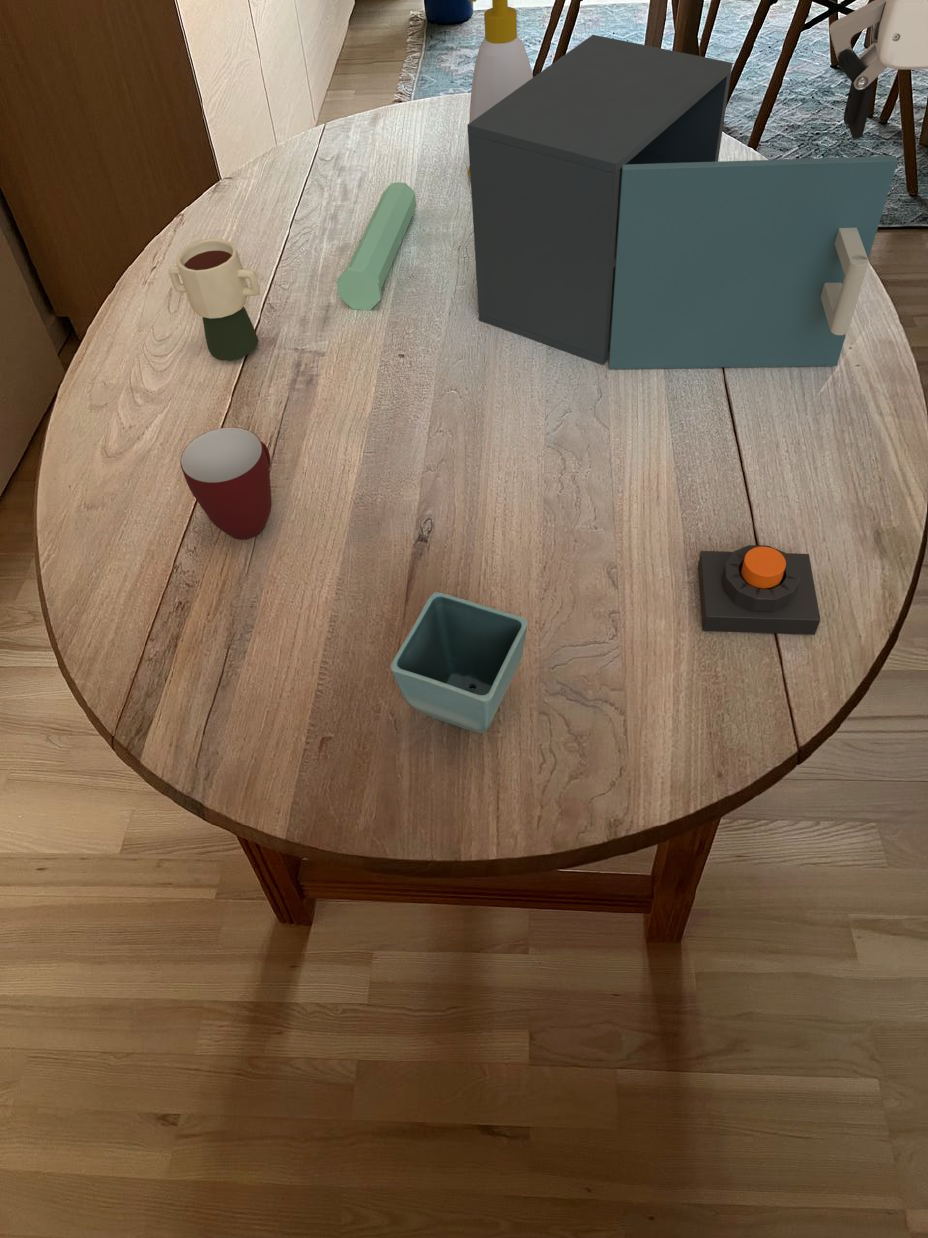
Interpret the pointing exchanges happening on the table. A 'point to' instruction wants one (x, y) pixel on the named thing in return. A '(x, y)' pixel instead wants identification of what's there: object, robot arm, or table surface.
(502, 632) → the flower pot
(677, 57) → the cupboard
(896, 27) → the robot arm
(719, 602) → the button block
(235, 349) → the character mug
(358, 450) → the table surface
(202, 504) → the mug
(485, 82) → the soap bottle
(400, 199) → the green octagonal rod
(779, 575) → the button
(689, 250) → the door
